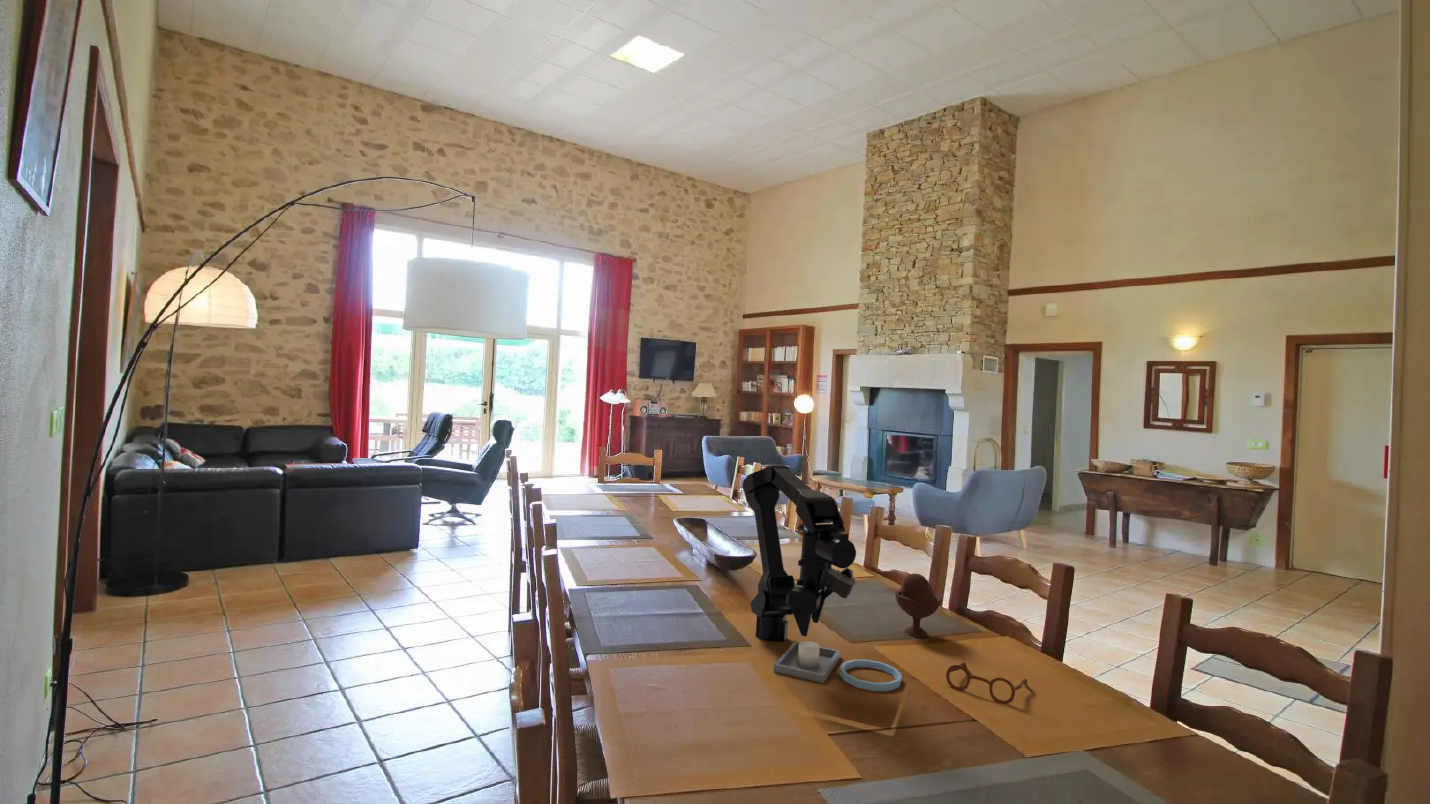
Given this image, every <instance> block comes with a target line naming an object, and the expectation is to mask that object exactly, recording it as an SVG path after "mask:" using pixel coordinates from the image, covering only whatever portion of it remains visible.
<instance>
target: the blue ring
mask: <svg viewBox="0 0 1430 804" xmlns="http://www.w3.org/2000/svg"><path fill="white" fill-rule="evenodd" d="M854 668H868V669H869V668H870V669H875V670H877V671H882V672H885V673H887V674H889V675H891V676H892V677H893V678H894V679H893V680H891V681H888V682H873V681H868V680H863V679H859V678H857V677H855V676H852V675H851V674H849V673H848V672H847V670H850V669H854ZM839 676H840V677H841V678H842V680H843V682H846V683H847V684H850V685H851V686H853V687H856V688H858V689H862V690H863V689H864V690H867V691H871V692H889V691H893V690H895V689H898V688H900V686H901V683H902V678H903V676H902V673H901V672H900V671H899V670H898V669H897V668H896V667H893V666H892V665H890V664H887V663H885V662H881V661H877V660H872V659H856V658H855V659H851V660H847V661H844V662H842V663H841V665H840V667H839Z"/></svg>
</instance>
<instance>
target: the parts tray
mask: <svg viewBox="0 0 1430 804" xmlns="http://www.w3.org/2000/svg"><path fill="white" fill-rule="evenodd" d="M800 642H801V641H800ZM800 642H799V641H793V642H792V643H791V645H790V646H789V647H788V648H787V649H786V650H785V652H784V653H783V654H782V655H781V656H780V657H779V658H778V660H776V662H775V663H773V673H777V674H781V675H786V676H790V677H794V678H799V679H805V680H807V681H812V682H817V683H821V684H824V683H825V682H826V681H827V679H828V677H829V676H830V675H831V672H832V671H833V670H834V668H835V667H836V665H837V663H838V662H839V660H840V658H841V655H842V654H841V653H842V652H841V651H842V650H839V649H835V648H829V647H825V646H824V647H823V646H820V651H819V666H818V667H817V668H804V667H801V666H799V665H798V648H799V643H800Z"/></svg>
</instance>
